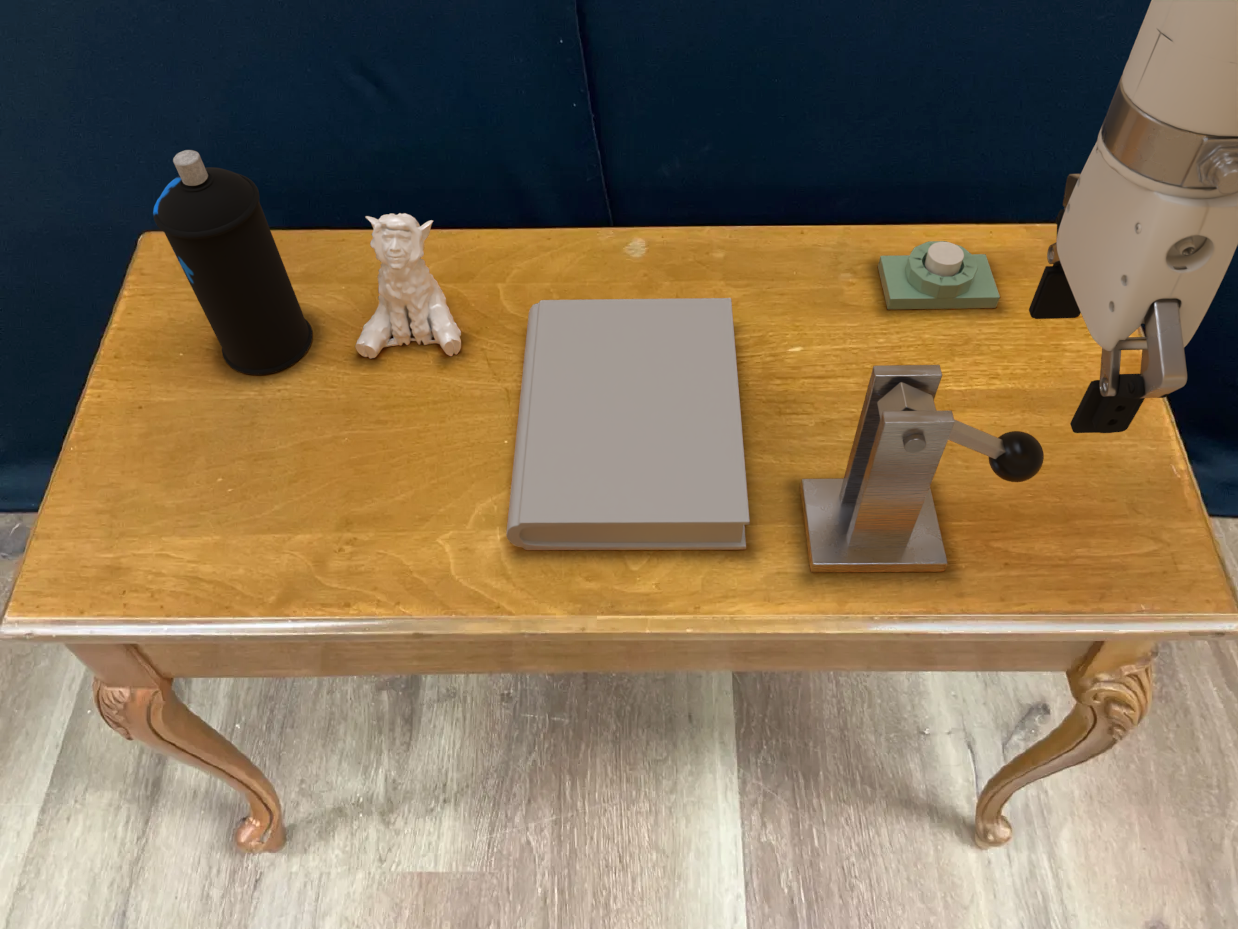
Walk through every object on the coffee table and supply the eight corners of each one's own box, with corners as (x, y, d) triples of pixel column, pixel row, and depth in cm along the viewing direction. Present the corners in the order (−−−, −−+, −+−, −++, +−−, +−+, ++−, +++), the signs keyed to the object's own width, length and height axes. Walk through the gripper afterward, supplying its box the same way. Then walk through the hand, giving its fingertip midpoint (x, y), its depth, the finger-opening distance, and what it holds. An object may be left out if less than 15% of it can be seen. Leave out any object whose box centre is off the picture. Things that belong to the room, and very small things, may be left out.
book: (731, 297, 86) (749, 521, 71) (728, 328, 89) (745, 549, 74) (526, 299, 86) (503, 522, 72) (530, 330, 89) (509, 550, 75)
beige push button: (956, 254, 90) (960, 240, 89) (963, 277, 89) (967, 264, 87) (921, 254, 91) (925, 241, 89) (927, 277, 89) (931, 264, 87)
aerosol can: (324, 314, 92) (255, 127, 76) (298, 378, 87) (219, 193, 71) (240, 310, 92) (155, 123, 76) (209, 373, 87) (111, 188, 71)
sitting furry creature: (357, 362, 88) (321, 259, 78) (368, 296, 93) (336, 192, 83) (462, 357, 88) (439, 253, 78) (467, 292, 93) (446, 187, 83)
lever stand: (924, 486, 78) (977, 347, 65) (944, 572, 73) (1005, 440, 60) (799, 487, 78) (828, 349, 65) (810, 572, 73) (843, 441, 60)
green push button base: (981, 264, 93) (990, 240, 91) (996, 308, 90) (1005, 284, 87) (877, 266, 94) (883, 241, 91) (887, 310, 90) (893, 285, 87)
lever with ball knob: (1008, 457, 71) (1047, 430, 68) (1020, 497, 69) (1061, 471, 66) (869, 399, 66) (905, 367, 63) (876, 440, 64) (915, 409, 61)
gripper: (1348, 239, 42) (1183, 478, 55) (1203, 32, 52) (1094, 275, 66) (1170, 244, 42) (1049, 481, 55) (1061, 37, 53) (982, 278, 66)
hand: (1073, 369), depth 61 cm, fingers open, 9 cm apart
